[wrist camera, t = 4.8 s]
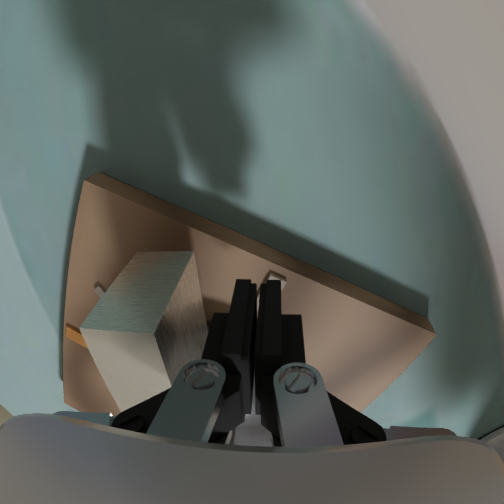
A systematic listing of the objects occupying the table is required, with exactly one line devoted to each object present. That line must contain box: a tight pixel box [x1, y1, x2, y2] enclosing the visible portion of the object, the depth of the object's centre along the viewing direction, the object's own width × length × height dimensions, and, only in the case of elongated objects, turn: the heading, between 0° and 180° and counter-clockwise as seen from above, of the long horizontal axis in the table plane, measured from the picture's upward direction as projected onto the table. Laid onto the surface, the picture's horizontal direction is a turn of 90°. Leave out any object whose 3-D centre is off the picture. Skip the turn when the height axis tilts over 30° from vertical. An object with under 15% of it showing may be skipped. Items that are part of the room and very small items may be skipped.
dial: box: [79, 251, 272, 447], centre depth 14 cm, size 16×12×7 cm
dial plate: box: [63, 173, 437, 416], centre depth 19 cm, size 20×20×2 cm
